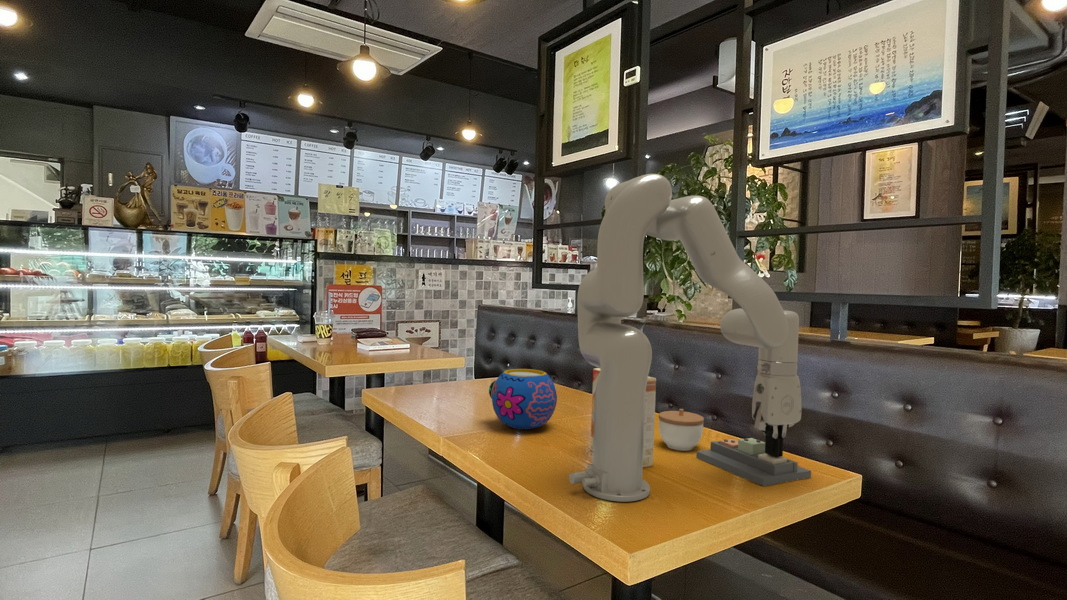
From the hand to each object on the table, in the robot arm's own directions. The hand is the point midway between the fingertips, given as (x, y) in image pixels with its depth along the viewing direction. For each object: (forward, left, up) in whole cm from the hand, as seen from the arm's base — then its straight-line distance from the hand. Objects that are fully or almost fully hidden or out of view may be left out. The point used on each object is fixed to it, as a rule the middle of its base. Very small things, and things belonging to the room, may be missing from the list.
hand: (773, 454), depth 117 cm
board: (0, +6, -4) cm, 7 cm away
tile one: (0, 0, -3) cm, 3 cm away
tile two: (0, +6, -1) cm, 6 cm away
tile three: (0, +11, -3) cm, 11 cm away
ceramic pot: (-34, +52, -5) cm, 62 cm away
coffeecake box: (-24, +21, -5) cm, 32 cm away
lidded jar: (-5, +23, -5) cm, 24 cm away
